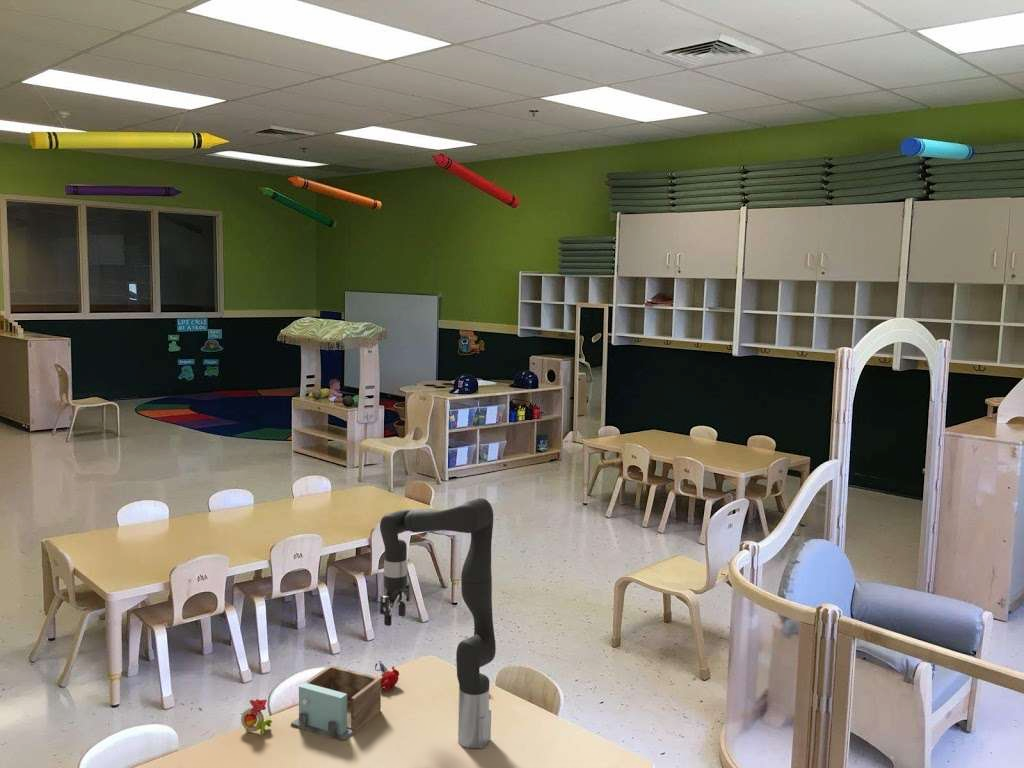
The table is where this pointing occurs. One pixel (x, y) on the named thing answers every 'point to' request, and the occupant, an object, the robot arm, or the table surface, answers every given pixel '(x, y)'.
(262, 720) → the bird rattle
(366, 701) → the cabinet
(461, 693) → the robot arm
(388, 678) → the figurine
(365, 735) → the table surface
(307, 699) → the door
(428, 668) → the table surface
